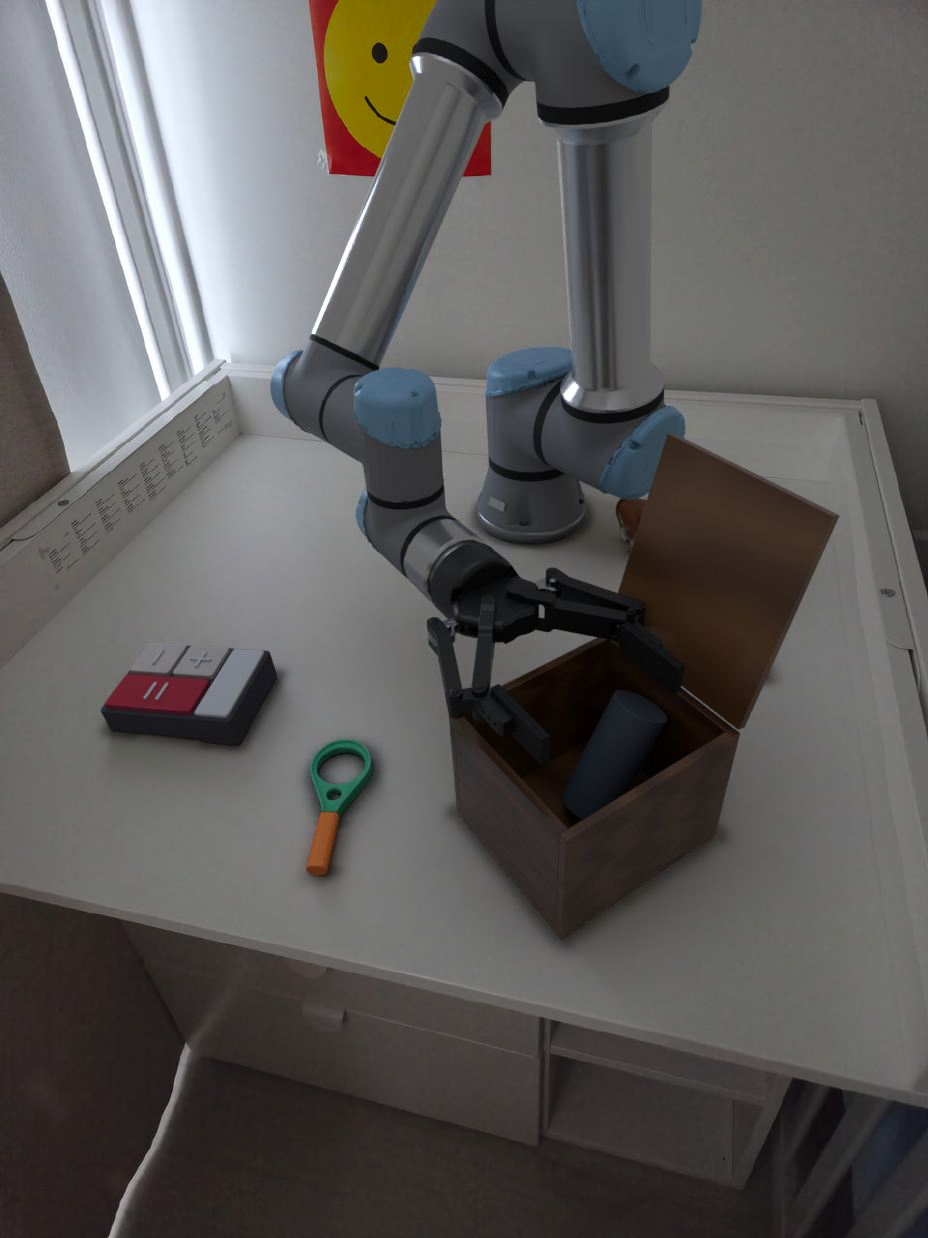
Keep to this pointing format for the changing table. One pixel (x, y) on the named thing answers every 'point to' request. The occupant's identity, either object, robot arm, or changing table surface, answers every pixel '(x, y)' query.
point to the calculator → (191, 692)
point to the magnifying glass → (333, 801)
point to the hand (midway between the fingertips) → (615, 714)
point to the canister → (614, 753)
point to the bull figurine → (629, 517)
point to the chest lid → (722, 571)
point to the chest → (531, 794)
